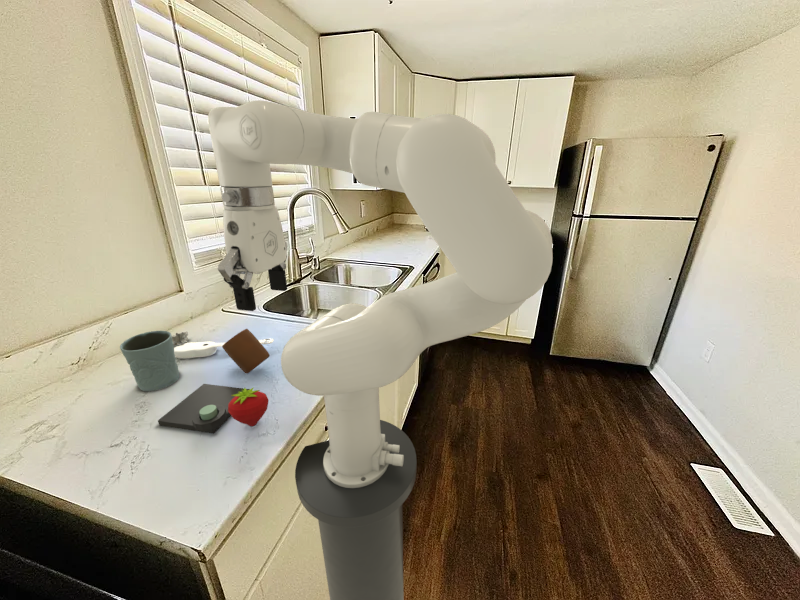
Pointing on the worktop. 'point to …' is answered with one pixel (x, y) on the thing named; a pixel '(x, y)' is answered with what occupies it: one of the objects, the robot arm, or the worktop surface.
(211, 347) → the spatula
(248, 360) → the mug
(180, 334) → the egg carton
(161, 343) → the green plant pot
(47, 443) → the worktop surface
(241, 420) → the strawberry
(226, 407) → the scale
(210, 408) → the button
